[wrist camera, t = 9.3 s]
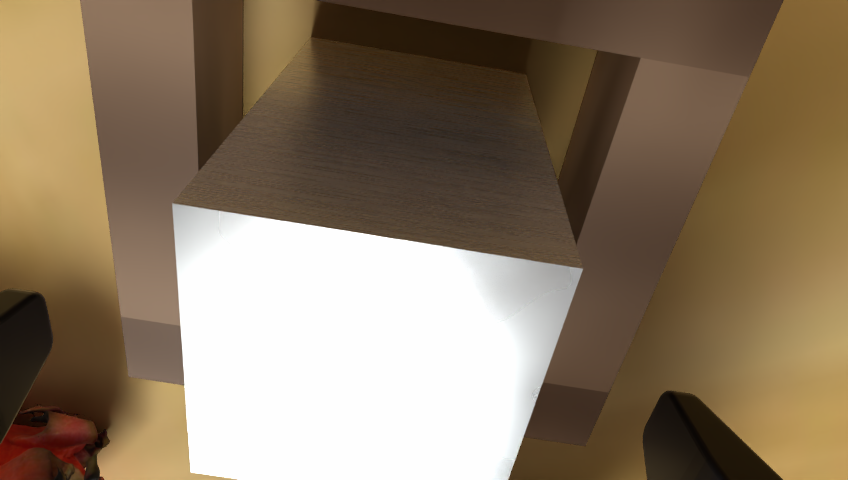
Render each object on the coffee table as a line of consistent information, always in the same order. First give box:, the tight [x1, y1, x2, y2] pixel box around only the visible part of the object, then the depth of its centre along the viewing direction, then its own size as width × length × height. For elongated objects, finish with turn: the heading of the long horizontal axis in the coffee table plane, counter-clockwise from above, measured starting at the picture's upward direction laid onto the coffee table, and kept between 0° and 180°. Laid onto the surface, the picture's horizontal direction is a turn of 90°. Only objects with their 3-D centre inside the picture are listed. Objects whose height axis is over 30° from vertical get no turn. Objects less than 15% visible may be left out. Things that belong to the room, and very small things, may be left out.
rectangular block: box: [172, 37, 583, 480], centre depth 12 cm, size 5×5×8 cm
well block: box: [80, 0, 783, 446], centre depth 14 cm, size 12×12×3 cm
